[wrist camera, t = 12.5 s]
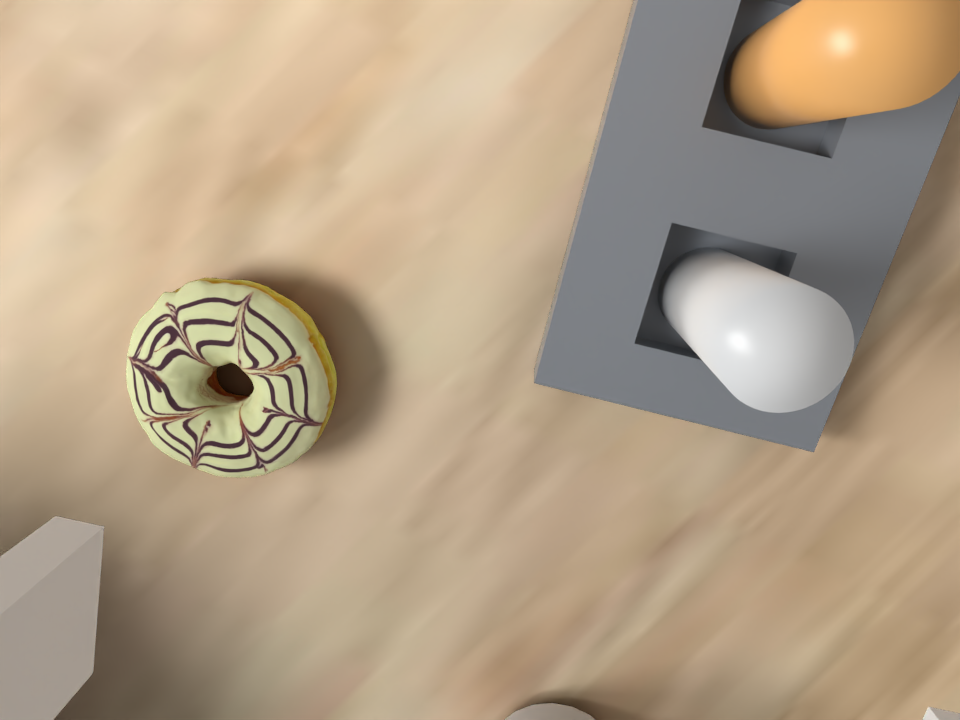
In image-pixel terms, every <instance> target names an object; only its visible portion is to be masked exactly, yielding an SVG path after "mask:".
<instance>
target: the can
mask: <svg viewBox="0 0 960 720" xmlns="http://www.w3.org/2000/svg"><path fill="white" fill-rule="evenodd" d="M504 720H595V719H594V718H593V717H592V716H590V715H589V714H587V713H585V712H583V711H580V710H578V709H576V708H574V707H572V706H566V705H561V704H555V703H545V704H536V705H531V706H528V707H525V708H523V709H520V710H517V711H515V712H513V713H512V714H511V715H510V716H508V717H507V718H506V719H504Z"/></svg>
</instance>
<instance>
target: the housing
mask: <svg viewBox="0 0 960 720" xmlns="http://www.w3.org/2000/svg"><path fill="white" fill-rule="evenodd" d="M800 1H802V0H633V4H632V8H631V11H630V15H629V19H628V23H627V26H626V30H625V34H624V37H623V41H622V45H621V49H620V52H619V56H618V60H617V63H616V67H615V71H614V75H613V78H612V82H611V86H610V89H609V93H608V97H607V101H606V104H605V108H604V112H603V115H602V119H601V123H600V127H599V130H598V134H597V138H596V141H595V145H594V149H593V153H592V156H591V160H590V164H589V167H588V171H587V175H586V179H585V182H584V186H583V190H582V193H581V197H580V201H579V205H578V208H577V212H576V216H575V219H574V223H573V227H572V231H571V234H570V238H569V242H568V245H567V249H566V253H565V257H564V260H563V264H562V268H561V271H560V275H559V279H558V283H557V286H556V290H555V294H554V297H553V301H552V305H551V309H550V312H549V316H548V320H547V323H546V327H545V331H544V335H543V338H542V342H541V346H540V349H539V353H538V357H537V361H536V364H535V368H534V383H536V384H540V385H544V386H548V387H552V388H556V389H560V390H564V391H568V392H572V393H576V394H580V395H584V396H589V397H593V398H597V399H601V400H605V401H609V402H613V403H617V404H621V405H625V406H629V407H633V408H637V409H641V410H645V411H649V412H653V413H657V414H661V415H665V416H669V417H673V418H677V419H682V420H686V421H690V422H694V423H698V424H702V425H706V426H710V427H714V428H718V429H722V430H726V431H730V432H734V433H738V434H742V435H746V436H750V437H754V438H758V439H762V440H766V441H770V442H774V443H779V444H783V445H787V446H791V447H795V448H799V449H803V450H807V451H811V452H814V450H815V448H816V446H817V443H818V441H819V438H820V436H821V433H822V431H823V428H824V426H825V424H826V421H827V419H828V416H829V414H830V411H831V409H832V406H833V404H834V402H835V399H836V397H837V394H838V392H839V389H840V387H841V384H842V382H843V380H844V377H845V376H844V377H843V379H842V380H841V382H840V383H839V384H838V385H837V387H836V388H835V389H834V390H833V391H832V392H831V393H830V394H829V395H827V396H826V397H825V398H823V399H822V400H820V401H819V402H817V403H815V404H813V405H811V406H809V407H806V408H804V409H801V410H797V411H792V412H785V413H772V412H765V411H761V410H757V409H754V408H752V407H750V406H748V405H746V404H744V403H743V402H741V401H739V400H738V399H737V398H736V397H735V396H734V395H733V394H732V393H731V392H730V391H729V390H728V389H727V388H726V387H725V385H724V384H723V383H722V382H721V381H720V380H719V379H718V378H717V376H716V375H715V374H714V373H713V372H712V371H711V370H710V369H709V367H708V366H707V365H706V364H705V363H704V362H703V361H702V360H701V358H700V357H699V356H698V355H697V354H696V353H695V352H694V351H693V349H692V348H691V347H690V346H689V345H688V344H687V343H686V342H685V341H684V339H683V338H682V337H681V336H680V335H679V334H678V333H677V332H676V330H675V329H674V328H673V327H672V326H671V325H670V324H669V323H668V321H667V320H666V319H665V317H664V316H663V314H662V311H661V309H660V306H659V300H658V292H659V286H660V282H661V279H662V277H663V275H664V273H665V271H666V270H667V268H668V267H669V266H670V265H671V263H672V262H673V261H675V260H676V259H677V258H678V257H680V256H681V255H683V254H685V253H687V252H689V251H691V250H694V249H699V248H717V249H721V250H724V251H727V252H729V253H731V254H734V255H736V256H739V257H741V258H743V259H746V260H748V261H751V262H753V263H755V264H758V265H760V266H763V267H765V268H767V269H770V270H772V271H775V272H777V273H779V274H782V275H784V276H787V277H789V278H792V279H794V280H796V281H799V282H801V283H804V284H806V285H808V286H811V287H813V288H816V289H818V290H820V291H822V292H824V293H826V294H827V295H829V296H830V297H832V298H833V299H834V300H835V301H837V302H838V303H839V304H840V306H841V307H842V308H843V309H844V311H845V312H846V314H847V316H848V318H849V320H850V322H851V325H852V329H853V334H854V351H853V355H854V353H855V350H856V348H857V345H858V343H859V340H860V338H861V336H862V333H863V331H864V328H865V326H866V323H867V321H868V318H869V316H870V314H871V311H872V309H873V306H874V304H875V301H876V299H877V296H878V294H879V292H880V289H881V287H882V284H883V282H884V279H885V277H886V274H887V272H888V270H889V267H890V265H891V262H892V260H893V257H894V255H895V252H896V250H897V248H898V245H899V243H900V240H901V238H902V235H903V233H904V230H905V228H906V226H907V223H908V221H909V218H910V216H911V213H912V211H913V208H914V206H915V204H916V201H917V199H918V196H919V194H920V191H921V189H922V186H923V184H924V182H925V179H926V177H927V174H928V172H929V169H930V167H931V164H932V162H933V160H934V157H935V155H936V152H937V150H938V147H939V145H940V142H941V140H942V137H943V135H944V133H945V130H946V128H947V125H948V123H949V120H950V118H951V115H952V113H953V111H954V108H955V106H956V103H957V101H958V98H959V96H960V71H959V73H958V74H957V75H956V76H955V77H954V78H953V79H952V80H951V81H950V82H949V83H948V85H946V86H945V87H944V88H943V89H941V90H940V91H939V92H938V93H936V94H935V95H933V96H931V97H930V98H928V99H926V100H924V101H922V102H920V103H918V104H915V105H912V106H909V107H905V108H901V109H896V110H890V111H884V112H877V113H871V114H865V115H859V116H853V117H847V118H841V119H835V120H828V121H822V122H816V123H810V124H804V125H798V126H792V127H786V128H779V129H771V130H766V129H758V128H754V127H751V126H749V125H747V124H745V123H744V122H742V121H741V120H740V119H739V118H737V117H736V116H735V114H734V113H733V112H732V111H731V109H730V107H729V105H728V103H727V101H726V98H725V94H724V86H723V85H724V72H725V69H726V65H727V62H728V60H729V58H730V56H731V54H732V52H733V51H734V49H735V48H736V46H737V45H738V44H739V43H740V42H741V41H742V40H743V39H744V38H745V37H746V36H748V35H749V34H750V33H752V32H753V31H755V30H756V29H758V28H760V27H761V26H763V25H764V24H766V23H767V22H769V21H770V20H772V19H774V18H775V17H777V16H778V15H780V14H781V13H783V12H784V11H786V10H788V9H789V8H791V7H792V6H794V5H795V4H797V3H798V2H800ZM852 358H853V356H852ZM845 375H846V374H845Z"/></svg>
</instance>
